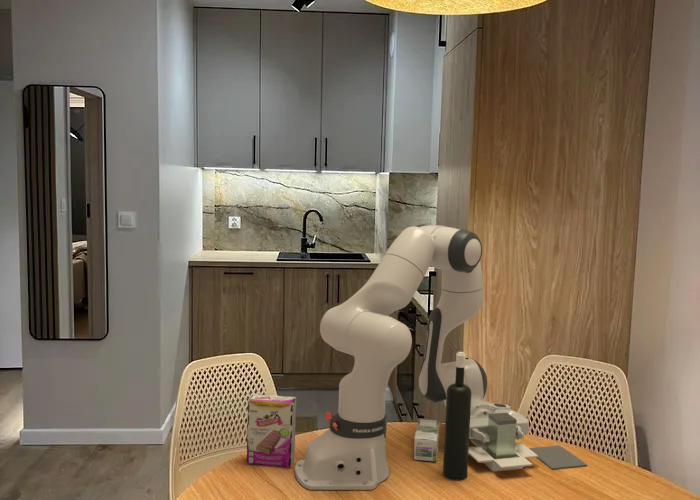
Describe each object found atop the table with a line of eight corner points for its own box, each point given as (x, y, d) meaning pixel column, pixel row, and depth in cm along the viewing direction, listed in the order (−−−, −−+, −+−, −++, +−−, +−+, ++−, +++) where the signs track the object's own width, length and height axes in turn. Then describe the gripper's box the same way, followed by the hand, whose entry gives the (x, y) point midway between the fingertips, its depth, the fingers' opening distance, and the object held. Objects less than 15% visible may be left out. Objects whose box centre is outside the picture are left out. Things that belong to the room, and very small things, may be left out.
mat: (552, 469, 159) (552, 468, 159) (526, 449, 170) (526, 448, 170) (587, 466, 161) (587, 464, 161) (560, 446, 173) (560, 445, 173)
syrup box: (417, 438, 176) (413, 461, 161) (418, 417, 175) (414, 438, 161) (439, 440, 175) (436, 463, 160) (439, 419, 174) (437, 440, 160)
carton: (485, 480, 152) (485, 468, 151) (456, 452, 167) (457, 441, 167) (546, 474, 156) (547, 462, 156) (512, 447, 172) (513, 436, 171)
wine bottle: (438, 471, 156) (444, 350, 153) (459, 468, 158) (465, 348, 155) (450, 482, 151) (456, 356, 147) (471, 478, 152) (478, 354, 149)
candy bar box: (245, 465, 156) (246, 399, 154) (251, 456, 161) (252, 393, 159) (291, 469, 155) (292, 402, 153) (295, 460, 160) (296, 395, 158)
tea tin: (495, 468, 159) (498, 421, 157) (486, 459, 163) (488, 413, 162) (513, 466, 160) (516, 419, 159) (503, 458, 165) (506, 412, 163)
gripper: (443, 408, 170) (466, 428, 157) (513, 404, 175) (541, 423, 162) (442, 432, 171) (464, 453, 157) (512, 426, 176) (539, 447, 163)
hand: (504, 438), depth 160 cm, fingers open, 8 cm apart
